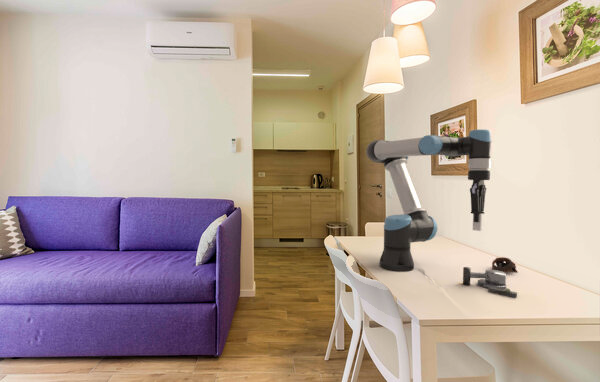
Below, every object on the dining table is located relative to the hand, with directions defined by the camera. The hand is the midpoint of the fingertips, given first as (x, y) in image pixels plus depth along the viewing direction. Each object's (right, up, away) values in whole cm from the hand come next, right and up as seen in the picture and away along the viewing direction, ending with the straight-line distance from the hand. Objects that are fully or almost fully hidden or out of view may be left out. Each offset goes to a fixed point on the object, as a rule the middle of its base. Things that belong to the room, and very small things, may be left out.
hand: (476, 230), depth 126 cm
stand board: (+1, -21, -7) cm, 22 cm away
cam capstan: (-2, -19, -8) cm, 21 cm away
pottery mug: (+18, -20, +12) cm, 29 cm away
